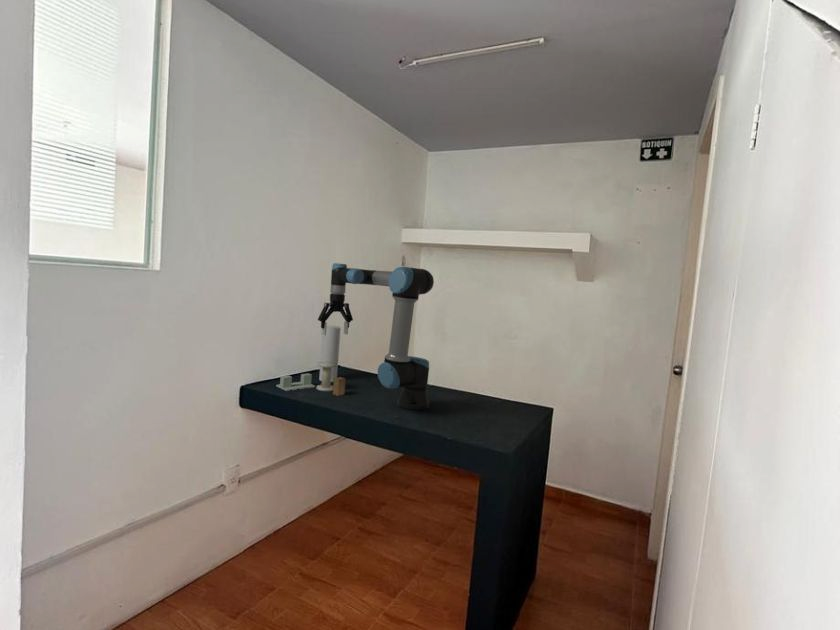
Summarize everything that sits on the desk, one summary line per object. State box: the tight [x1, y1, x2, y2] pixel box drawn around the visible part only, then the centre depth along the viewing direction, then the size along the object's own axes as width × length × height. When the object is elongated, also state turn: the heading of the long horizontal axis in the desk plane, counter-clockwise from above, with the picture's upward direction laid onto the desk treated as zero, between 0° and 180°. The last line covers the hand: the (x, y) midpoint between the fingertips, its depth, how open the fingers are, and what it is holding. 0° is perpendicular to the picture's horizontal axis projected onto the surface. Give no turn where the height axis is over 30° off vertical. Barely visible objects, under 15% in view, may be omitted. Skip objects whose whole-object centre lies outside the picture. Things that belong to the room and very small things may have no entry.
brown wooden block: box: [332, 376, 346, 397], centre depth 219 cm, size 4×4×8 cm
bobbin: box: [316, 361, 336, 392], centre depth 227 cm, size 9×9×13 cm
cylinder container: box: [319, 325, 342, 383], centre depth 245 cm, size 9×9×30 cm
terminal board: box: [276, 372, 316, 392], centre depth 226 cm, size 10×16×6 cm, turn 137°
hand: (334, 334), depth 231 cm, fingers open, 13 cm apart
